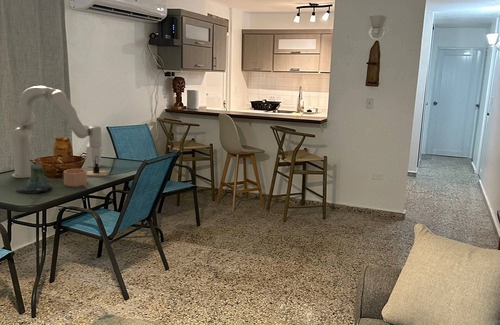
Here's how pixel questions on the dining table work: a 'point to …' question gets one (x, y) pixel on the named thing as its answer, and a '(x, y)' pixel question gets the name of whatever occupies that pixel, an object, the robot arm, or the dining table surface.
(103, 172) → the lid
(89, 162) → the milk carton
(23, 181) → the dining table surface
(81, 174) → the bowl
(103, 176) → the mat
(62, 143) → the coffee package
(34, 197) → the dining table surface
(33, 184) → the tree stump
